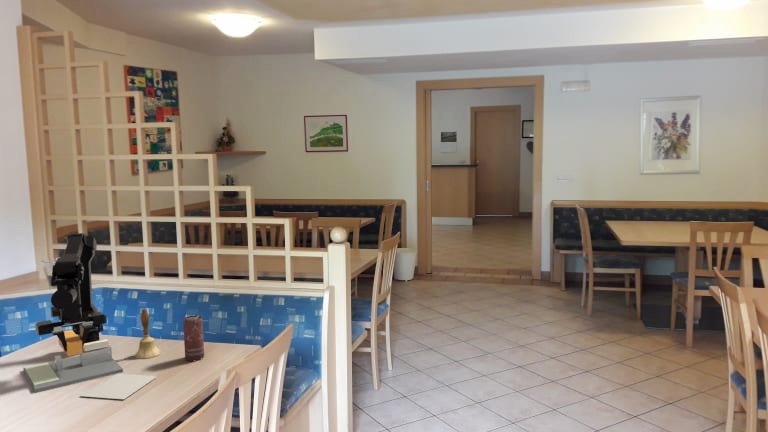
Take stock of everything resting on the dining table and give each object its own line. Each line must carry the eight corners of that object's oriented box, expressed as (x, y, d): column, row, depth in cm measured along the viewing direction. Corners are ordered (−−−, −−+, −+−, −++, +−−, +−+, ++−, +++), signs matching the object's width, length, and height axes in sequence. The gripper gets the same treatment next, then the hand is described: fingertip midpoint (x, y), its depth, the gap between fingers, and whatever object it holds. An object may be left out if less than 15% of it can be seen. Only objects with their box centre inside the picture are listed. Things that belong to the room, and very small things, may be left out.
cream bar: (106, 345, 190) (106, 339, 190) (108, 346, 189) (108, 340, 189) (83, 349, 186) (83, 343, 186) (84, 351, 184) (84, 345, 184)
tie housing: (109, 357, 192) (108, 344, 191) (112, 360, 189) (111, 347, 189) (55, 369, 182) (54, 356, 181) (57, 372, 179) (56, 358, 179)
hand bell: (136, 360, 192) (133, 313, 190) (133, 353, 199) (130, 308, 197) (162, 356, 196) (160, 310, 194) (158, 348, 203) (156, 304, 201)
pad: (47, 363, 187) (47, 362, 187) (59, 380, 173) (59, 379, 173) (24, 368, 183) (24, 367, 183) (34, 385, 169) (34, 384, 169)
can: (208, 355, 195) (206, 315, 194) (196, 362, 189) (194, 320, 188) (193, 353, 197) (191, 314, 196) (181, 360, 191) (179, 319, 190)
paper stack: (186, 380, 176) (185, 378, 176) (137, 417, 151) (137, 415, 151) (116, 375, 180) (116, 373, 180) (58, 411, 155) (58, 408, 155)
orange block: (72, 341, 189) (71, 329, 189) (82, 353, 178) (81, 340, 178) (59, 344, 187) (58, 332, 186) (68, 356, 176) (67, 343, 175)
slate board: (104, 353, 199) (104, 350, 199) (123, 371, 182) (122, 368, 182) (23, 370, 184) (23, 367, 183) (35, 392, 167) (35, 389, 167)
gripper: (96, 291, 189) (99, 337, 191) (30, 300, 177) (34, 349, 179) (105, 297, 181) (108, 345, 182) (36, 308, 169) (40, 359, 171)
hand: (73, 349), depth 179 cm, fingers closed on orange block, 4 cm apart
